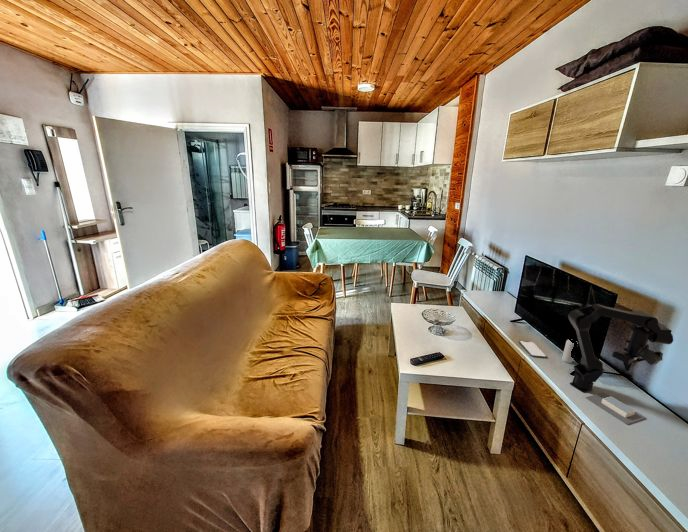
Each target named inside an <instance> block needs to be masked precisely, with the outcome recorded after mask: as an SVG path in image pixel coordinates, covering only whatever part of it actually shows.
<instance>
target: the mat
mask: <svg viewBox="0 0 688 532" xmlns="http://www.w3.org/2000/svg"><path fill="white" fill-rule="evenodd" d="M607 397H611V396H610V395H608V394H607V393H605V392H600V393H597V394H593V395H589V396H586V397H585V399H587V401H589V402H590V403H593V404H594V405H596V406H597V407H599V408H600V409H602V410H603V411H605V412H606V413H608V414H610V415H612V416H613V417H614V418H616V419H618V420H619V421H620V422H623V424H625V425H631V424H634V423H637V422H640V421H643V420H645V419H647V417H645V416H644V415H642V414H641V413H639V412H637V411H636V412H635V415H632V416H629V417H626V418H625V417H623V416H622V415H620V414H618V413H617V412H615V411H614V410H612V409H610V408H609V407H607V406H606V405H604V404H602V403H601V402H602V399H604V398H607Z"/></svg>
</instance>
